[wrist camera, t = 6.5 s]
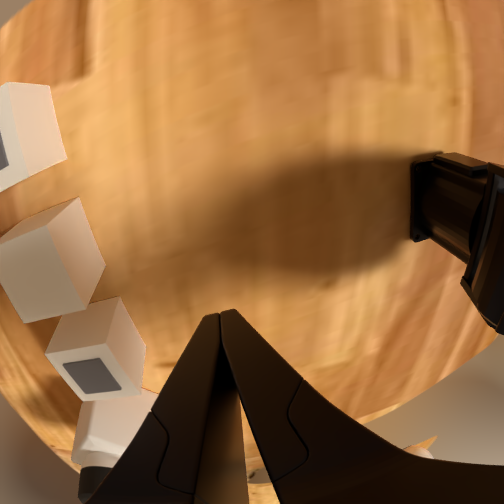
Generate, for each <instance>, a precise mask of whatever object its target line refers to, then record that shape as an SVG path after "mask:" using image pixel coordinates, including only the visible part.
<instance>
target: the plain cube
mask: <svg viewBox="0 0 504 504" xmlns="http://www.w3.org/2000/svg"><path fill="white" fill-rule="evenodd" d="M105 267H106V265H105V262H104V260H103V258H102V255H101V253H100V251H99V248H98V246H97V243H96V241H95V238H94V236H93V233H92V231H91V228H90V226H89V223H88V220H87V218H86V215H85V212H84V210H83V207H82V204H81V201H80V198H79V197H77V198H74V199H72V200H69V201H66V202H64V203H61V204H59V205H56V206H54V207H51V208H49V209H47V210H44V211H42V212H39V213H37V214H35V215H32V216H30V217H28V218H26V219H23V220H22V221H20V222H19V223H18V224H17V225H15V226H14V227H13V228H12V229H10V230H9V231H8V232H7V233H6V234H4V235H3V236H2V237H1V238H0V283H1V285H2V287H3V289H4V290H5V292H6V294H7V296H8V298H9V299H10V301H11V303H12V305H13V306H14V308H15V310H16V311H17V313H18V315H19V316H20V318H21V320H22V321H23V323H24V324H25V323H30V322H34V321H38V320H43V319H47V318H51V317H56V316H60V315H64V314H68V313H73V312H77V311H81V310H85V309H87V306H88V304H89V302H90V299H91V297H92V295H93V293H94V290H95V288H96V286H97V284H98V282H99V280H100V277H101V275H102V273H103V271H104V269H105Z"/></svg>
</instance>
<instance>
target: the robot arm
mask: <svg viewBox="0 0 504 504" xmlns="http://www.w3.org/2000/svg"><path fill="white" fill-rule="evenodd" d="M417 167H418V170H416V169H417ZM416 235H417V236H416ZM415 236H416V237H415ZM429 238H430V239H432V240H433V241H434V242H436V243H437V244H439V245H440V246H442V247H443V248H445V249H446V250H447V251H449V252H450V253H452V254H453V255H454V256H456V257H457V258H459V259H460V260H461V261H463V262H464V263H465V264H467V267H466V270H465V273H464V276H462V279H461V282H460V284H461V286H462V287H463V288H464V290H465V291H466V293H467V294H468V296H469V297H470V299H471V300H472V302H473V303H474V305H475V306H476V308H477V310H478V312H479V313H480V314H481V316H482V318H483V319H484V320H485V321H486V323H487V324H488V325H489V326H490V327H492V328H494V329H495V331H496V332H497V333H499V334H502V335H504V165H499V164H495V163H490V162H488V163H486V162H483V161H480V160H477V159H474V158H471V157H468V156H465V155H462V154H459V153H455V152H454V153H446V154H438V155H435V156H434V157H433V159H429V160H422V161H415V162H413V163H412V165H411V226H410V239H411V240H412V241H414V242H420V241H423V240H426V239H429ZM240 400H241V403H242V406H243V409H244V411H245V414H246V417H247V420H248V423H249V425H250V428H251V431H252V433H253V436H254V439H255V441H256V444H257V447H258V449H259V452H260V455H261V457H262V460H263V462H264V465H265V467H266V470H267V472H268V475H269V477H270V480H271V482H272V484H273V487H274V490H275V492H276V495H277V497H278V500H279V502H280V504H504V466H501V465H484V464H471V463H461V462H452V461H445V460H438V459H432V458H426V457H421V456H417V455H414V454H411V453H409V452H406V451H404V450H402V449H400V448H398V447H396V446H394V445H393V444H391V443H389V442H388V441H386V440H384V439H383V438H382V437H380V436H378V435H377V434H375V433H374V432H372V431H371V430H369V429H367V428H366V427H364V426H363V425H361V424H360V423H358V422H357V421H355V420H354V419H352V418H351V417H349V416H348V415H347V414H345V413H344V412H342V411H341V410H340V409H338V408H337V407H336V406H334V405H333V404H332V403H330V402H329V401H328V400H327V399H326V398H325V397H323V396H322V395H321V394H320V393H319V392H318V391H317V390H315V389H314V388H313V387H312V386H311V385H310V384H309V383H308V382H307V381H306V380H304V379H303V377H302V376H301V375H300V374H299V373H298V372H297V371H296V370H295V369H294V368H293V367H292V366H291V365H290V364H289V363H288V362H287V361H286V360H285V359H284V358H283V357H282V356H281V355H280V354H279V353H278V352H277V351H276V350H275V349H274V348H273V347H272V346H271V345H270V344H269V343H268V342H267V341H266V340H265V339H264V338H263V337H262V336H261V335H260V334H259V333H258V332H257V331H256V330H255V329H254V328H253V327H252V326H251V325H250V324H249V323H248V322H247V321H246V320H245V318H244V317H243V316H242V315H241V314H240V313H239V312H238V311H237V310H236V309H230V310H226V311H222V312H221V313H220V314H219V313H214V314H209V315H205V316H204V317H203V318H202V320H201V322H200V324H199V325H198V327H197V329H196V331H195V332H194V334H193V336H192V337H191V339H190V341H189V343H188V344H187V346H186V348H185V350H184V351H183V353H182V355H181V357H180V358H179V360H178V362H177V364H176V365H175V367H174V369H173V371H172V372H171V374H170V376H169V378H168V379H167V381H166V383H165V385H164V386H163V388H162V390H161V392H160V393H159V395H158V397H157V399H156V400H155V402H154V404H153V406H152V407H151V411H152V412H151V411H150V412H148V414H147V416H146V418H145V419H144V421H143V423H142V425H141V426H140V428H139V430H138V431H137V433H136V435H135V436H134V438H133V440H132V441H131V442H130V444H129V445H128V447H127V448H126V450H125V451H124V453H123V454H122V455H121V457H120V458H119V460H118V461H117V462H116V464H115V465H114V466H113V468H112V469H111V471H110V472H109V473H108V475H107V476H106V477H105V479H104V480H103V481H102V483H101V484H100V485H99V487H98V488H97V489H96V491H95V492H94V493H93V495H92V496H91V497H90V498H89V499H88V500H87V501H86V502H85V503H84V504H249V495H248V485H247V475H246V464H245V453H244V442H243V430H242V419H241V406H240Z"/></svg>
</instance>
